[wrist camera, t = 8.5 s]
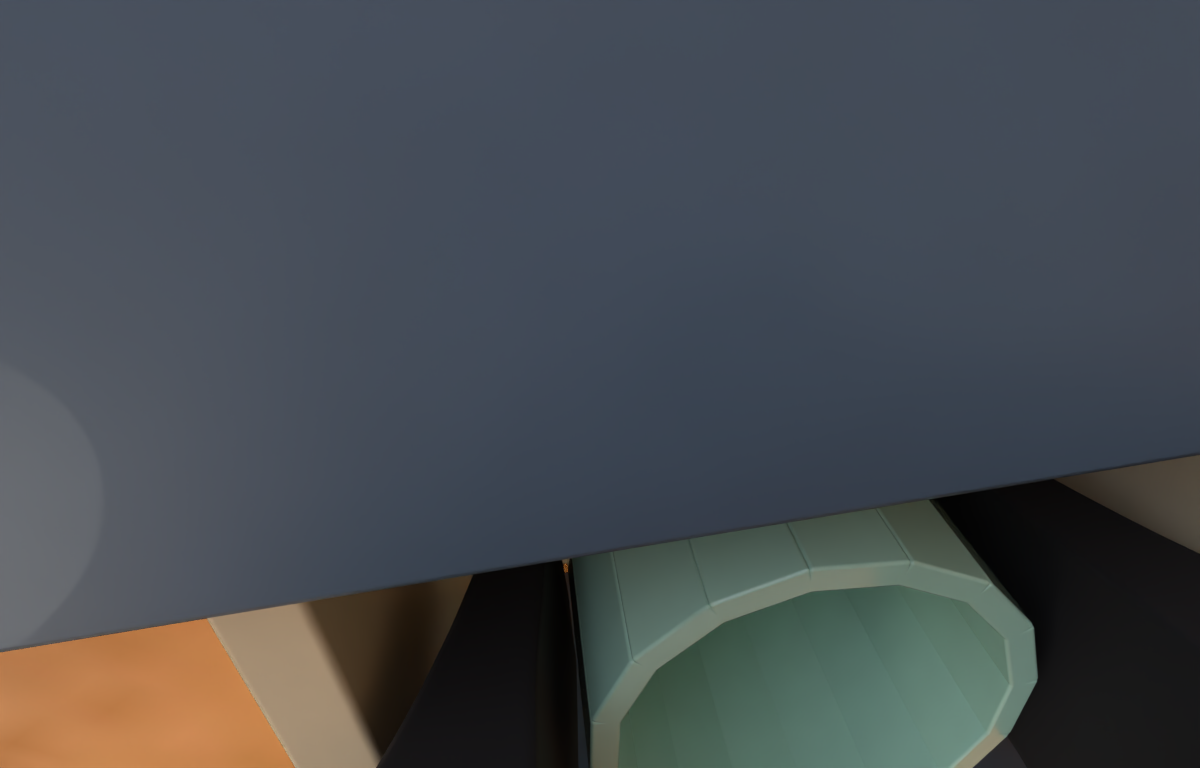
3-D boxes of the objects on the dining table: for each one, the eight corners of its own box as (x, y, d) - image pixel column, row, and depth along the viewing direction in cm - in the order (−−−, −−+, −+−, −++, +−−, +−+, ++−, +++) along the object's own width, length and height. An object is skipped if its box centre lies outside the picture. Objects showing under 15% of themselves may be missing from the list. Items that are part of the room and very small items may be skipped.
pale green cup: (862, 490, 12) (1047, 769, 8) (617, 580, 13) (673, 888, 9) (806, 263, 10) (1025, 491, 6) (508, 383, 11) (512, 676, 6)
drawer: (920, 670, 18) (1115, 1008, 12) (471, 748, 18) (456, 1138, 12) (1129, -369, 8) (2632, -1128, 2) (115, -253, 8) (-1018, -839, 2)
